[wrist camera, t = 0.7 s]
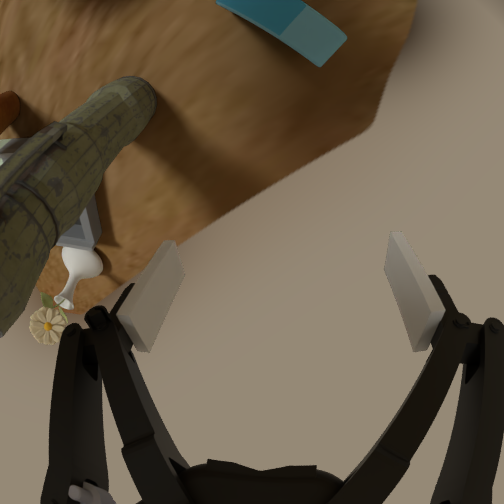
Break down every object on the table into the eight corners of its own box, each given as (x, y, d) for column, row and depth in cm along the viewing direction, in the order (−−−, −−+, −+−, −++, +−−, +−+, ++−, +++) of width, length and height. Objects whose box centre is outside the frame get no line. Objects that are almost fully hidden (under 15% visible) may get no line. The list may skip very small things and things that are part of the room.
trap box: (-18, 141, 32) (-38, 160, 28) (86, 136, 37) (65, 157, 32) (7, 218, 48) (-7, 238, 43) (102, 232, 52) (90, 257, 48)
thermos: (98, 130, 36) (-38, 329, 12) (112, 61, 28) (-101, 239, 4) (146, 143, 39) (38, 370, 15) (168, 74, 31) (-22, 295, 7)
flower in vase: (112, 270, 62) (82, 365, 45) (78, 270, 62) (46, 357, 45) (89, 230, 52) (44, 335, 35) (54, 234, 53) (9, 327, 36)
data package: (323, 33, 26) (352, 39, 18) (302, 55, 29) (323, 70, 21) (245, -17, 21) (241, -34, 13) (225, 8, 24) (212, 1, 16)
